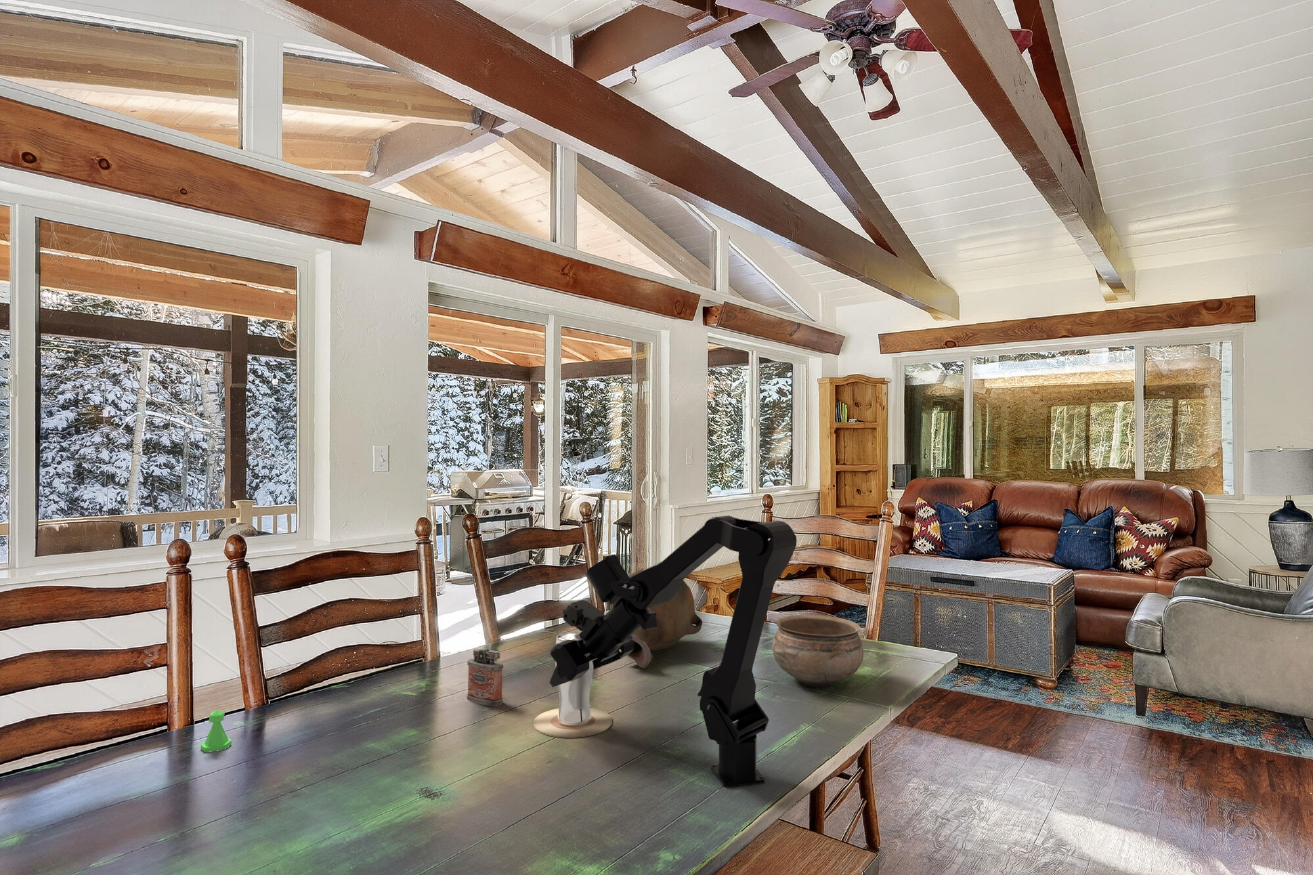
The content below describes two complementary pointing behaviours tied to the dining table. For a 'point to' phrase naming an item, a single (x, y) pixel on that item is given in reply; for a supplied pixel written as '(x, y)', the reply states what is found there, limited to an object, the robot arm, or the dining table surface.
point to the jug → (666, 625)
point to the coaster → (552, 727)
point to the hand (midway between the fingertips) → (567, 677)
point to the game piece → (216, 734)
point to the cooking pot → (818, 648)
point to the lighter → (485, 678)
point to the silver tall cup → (575, 690)
